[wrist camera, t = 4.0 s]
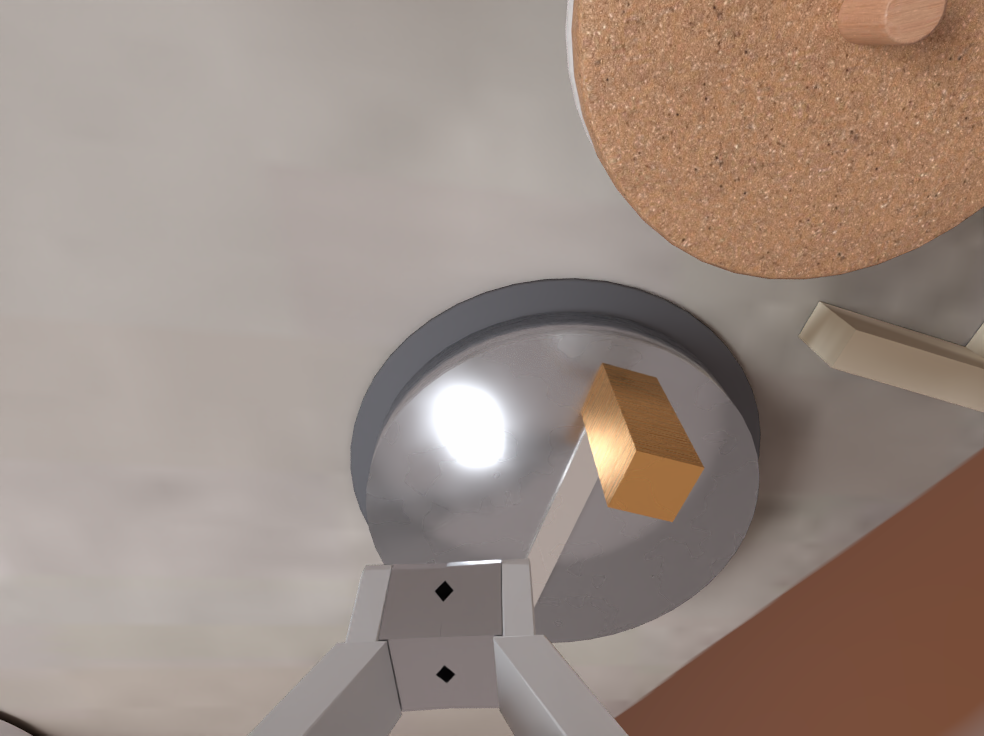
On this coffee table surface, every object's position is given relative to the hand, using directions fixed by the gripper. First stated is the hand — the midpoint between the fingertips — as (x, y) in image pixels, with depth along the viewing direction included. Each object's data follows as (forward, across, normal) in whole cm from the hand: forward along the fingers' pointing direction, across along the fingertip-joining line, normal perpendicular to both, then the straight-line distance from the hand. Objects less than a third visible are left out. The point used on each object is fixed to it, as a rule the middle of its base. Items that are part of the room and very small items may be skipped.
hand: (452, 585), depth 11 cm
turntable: (+13, -3, +8) cm, 15 cm away
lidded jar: (+13, -8, -9) cm, 18 cm away
